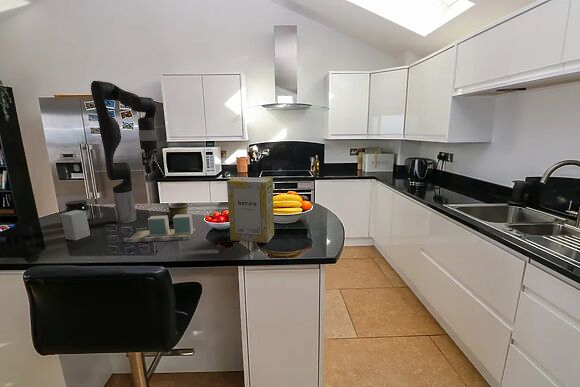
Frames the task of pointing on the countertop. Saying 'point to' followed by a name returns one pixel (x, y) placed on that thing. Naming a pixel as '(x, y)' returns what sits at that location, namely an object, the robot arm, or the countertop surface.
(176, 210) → the ceramic cup
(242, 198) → the pasta box
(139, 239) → the shelf
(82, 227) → the supplement box
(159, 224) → the carton
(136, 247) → the countertop surface
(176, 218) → the faced carton
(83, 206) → the supplement container
